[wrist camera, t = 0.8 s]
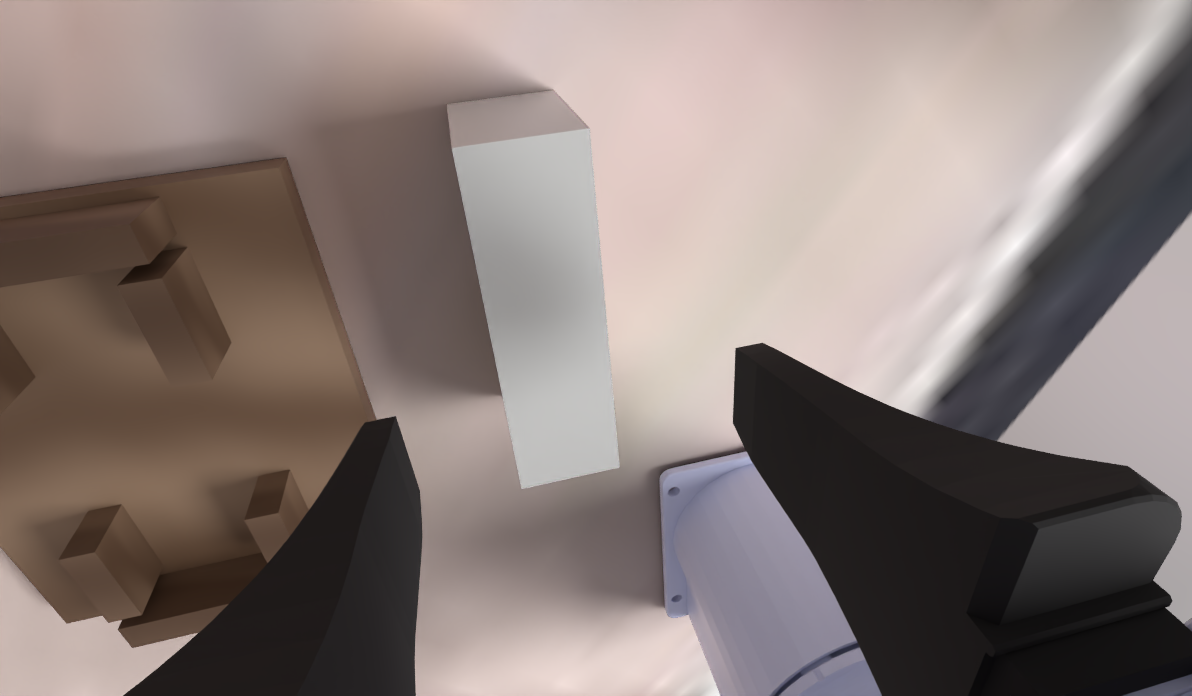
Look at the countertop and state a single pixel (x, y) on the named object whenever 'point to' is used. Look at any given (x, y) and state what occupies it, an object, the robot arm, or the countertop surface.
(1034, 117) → the countertop surface
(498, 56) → the countertop surface
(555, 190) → the light gray block
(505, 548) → the countertop surface
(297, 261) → the rack
